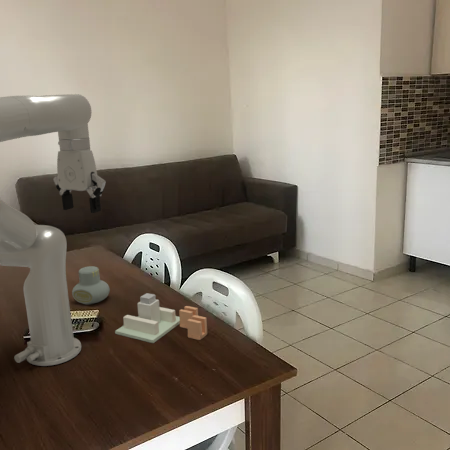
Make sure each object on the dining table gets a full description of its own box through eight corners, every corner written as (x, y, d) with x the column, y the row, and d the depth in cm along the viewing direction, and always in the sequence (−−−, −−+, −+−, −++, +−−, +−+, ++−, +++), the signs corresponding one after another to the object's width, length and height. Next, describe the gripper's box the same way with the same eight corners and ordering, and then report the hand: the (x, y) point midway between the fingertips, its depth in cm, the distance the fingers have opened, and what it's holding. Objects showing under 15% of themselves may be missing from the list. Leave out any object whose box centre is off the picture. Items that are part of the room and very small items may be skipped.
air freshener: (115, 297, 151) (112, 266, 148) (99, 308, 143) (96, 275, 141) (84, 293, 154) (81, 263, 152) (68, 303, 147) (64, 272, 144)
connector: (151, 328, 128) (149, 299, 125) (139, 325, 129) (136, 297, 127) (160, 322, 131) (158, 294, 129) (148, 319, 133) (146, 291, 131)
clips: (200, 340, 122) (199, 323, 121) (171, 333, 126) (170, 316, 125) (215, 327, 129) (214, 311, 128) (187, 321, 133) (186, 305, 132)
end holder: (153, 343, 122) (152, 329, 121) (115, 333, 127) (114, 320, 126) (183, 320, 133) (183, 307, 132) (148, 312, 139) (147, 300, 138)
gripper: (39, 146, 127) (47, 211, 131) (90, 147, 119) (97, 216, 123) (61, 143, 133) (68, 205, 138) (110, 144, 125) (116, 210, 130)
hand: (82, 210), depth 130 cm, fingers open, 9 cm apart
